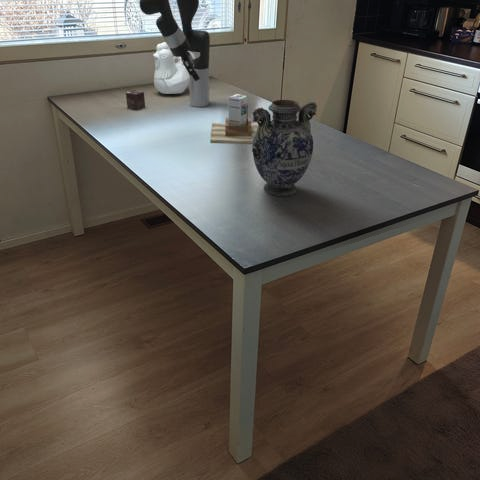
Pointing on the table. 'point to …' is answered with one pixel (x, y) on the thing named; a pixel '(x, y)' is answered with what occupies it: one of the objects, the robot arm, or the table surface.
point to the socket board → (233, 132)
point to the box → (135, 100)
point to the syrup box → (238, 109)
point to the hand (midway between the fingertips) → (196, 74)
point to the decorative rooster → (169, 71)
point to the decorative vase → (283, 145)
